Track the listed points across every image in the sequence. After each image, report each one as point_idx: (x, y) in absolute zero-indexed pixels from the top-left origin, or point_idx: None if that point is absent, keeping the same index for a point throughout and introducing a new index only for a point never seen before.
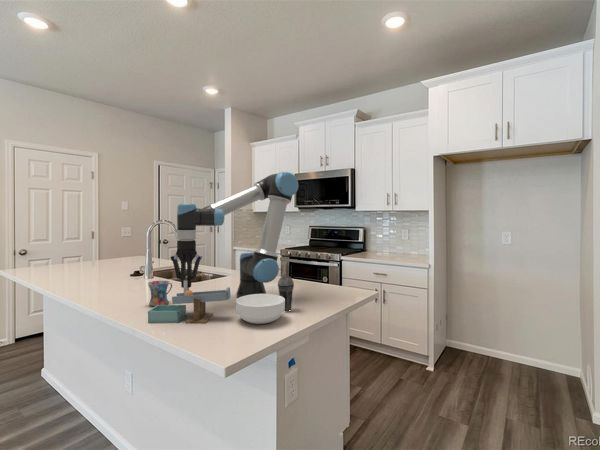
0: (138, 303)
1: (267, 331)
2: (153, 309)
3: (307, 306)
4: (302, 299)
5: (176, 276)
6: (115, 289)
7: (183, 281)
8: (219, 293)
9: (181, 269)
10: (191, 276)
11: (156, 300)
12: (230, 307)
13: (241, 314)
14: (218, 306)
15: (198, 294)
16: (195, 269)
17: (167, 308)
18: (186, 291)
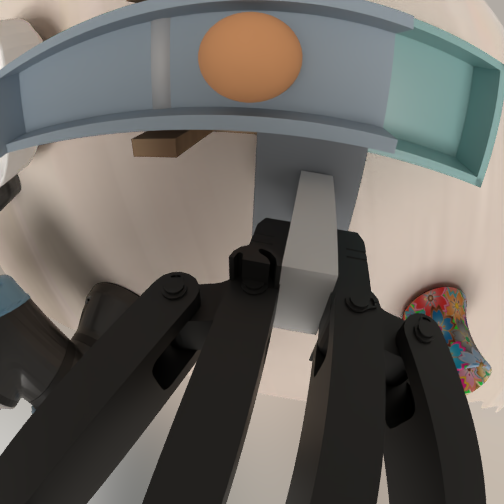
0: (479, 326)
1: (14, 13)
2: (490, 114)
3: (3, 209)
4: (29, 261)
5: (446, 344)
6: (474, 399)
7: (341, 281)
8: (13, 61)
9: (371, 471)
10: (200, 317)
11: (452, 307)
12: (138, 225)
13: (23, 23)
14: (188, 246)
15: (171, 110)
16: (69, 391)
17: (424, 152)
18: (258, 29)
